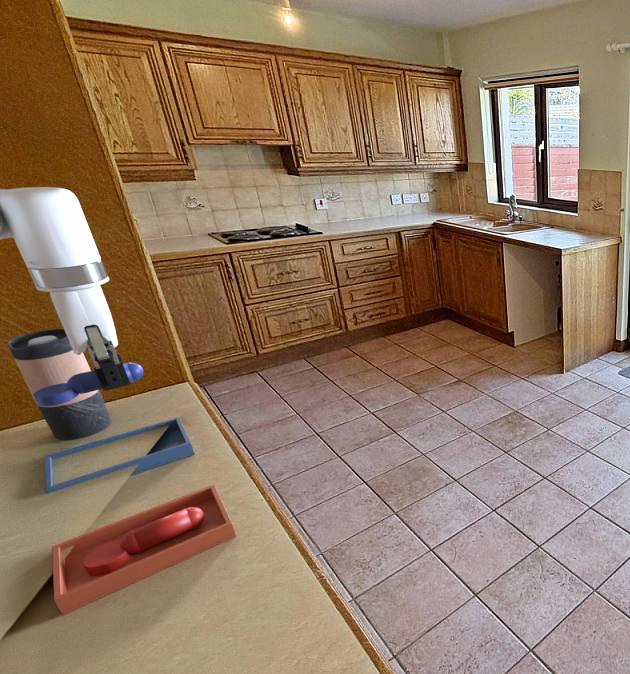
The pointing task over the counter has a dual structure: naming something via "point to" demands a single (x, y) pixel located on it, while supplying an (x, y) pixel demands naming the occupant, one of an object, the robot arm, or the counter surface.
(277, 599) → the counter surface
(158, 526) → the red spoon
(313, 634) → the counter surface
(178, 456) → the blue long rectangular frame
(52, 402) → the blue lumpy rod
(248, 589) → the counter surface
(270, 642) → the counter surface
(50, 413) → the travel mug
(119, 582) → the terracotta tray
